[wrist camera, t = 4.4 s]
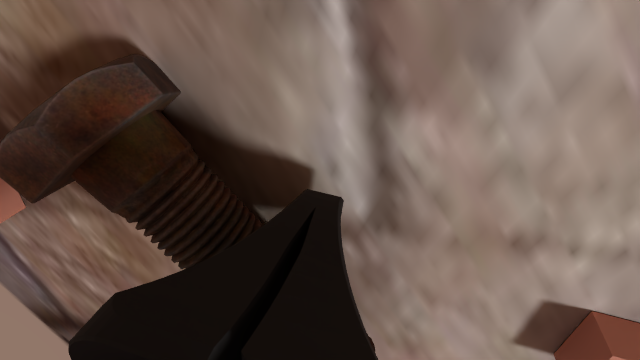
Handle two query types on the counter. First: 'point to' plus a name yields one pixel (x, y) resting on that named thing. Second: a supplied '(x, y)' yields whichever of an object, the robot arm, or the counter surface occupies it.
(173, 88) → the bolt
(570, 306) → the counter surface
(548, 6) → the counter surface
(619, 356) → the block
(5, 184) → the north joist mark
